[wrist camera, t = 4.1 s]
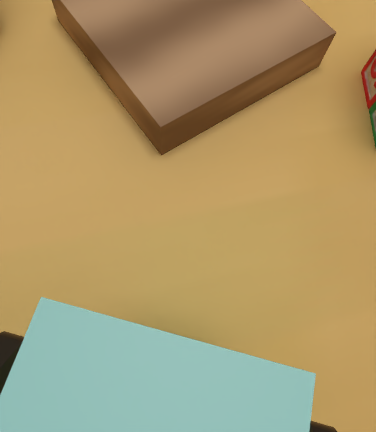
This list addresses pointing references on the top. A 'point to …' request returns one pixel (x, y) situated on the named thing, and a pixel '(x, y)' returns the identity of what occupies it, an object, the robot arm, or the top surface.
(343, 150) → the top surface
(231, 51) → the slab
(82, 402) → the post
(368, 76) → the stack of blocks
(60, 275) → the top surface
